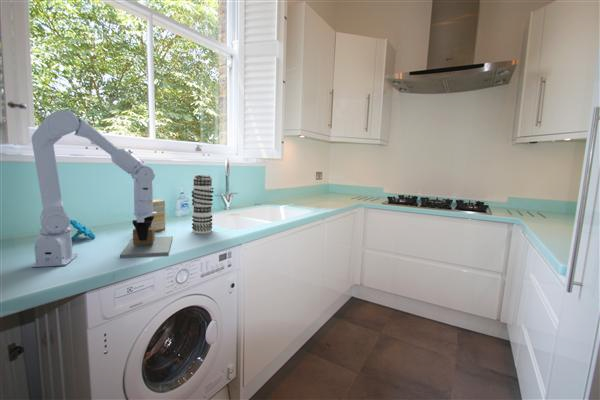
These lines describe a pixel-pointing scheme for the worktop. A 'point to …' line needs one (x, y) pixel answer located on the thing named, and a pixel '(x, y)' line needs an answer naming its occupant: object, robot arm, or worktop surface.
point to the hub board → (148, 248)
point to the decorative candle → (202, 204)
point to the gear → (81, 230)
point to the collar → (149, 237)
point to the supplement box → (158, 215)
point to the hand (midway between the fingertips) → (144, 238)
